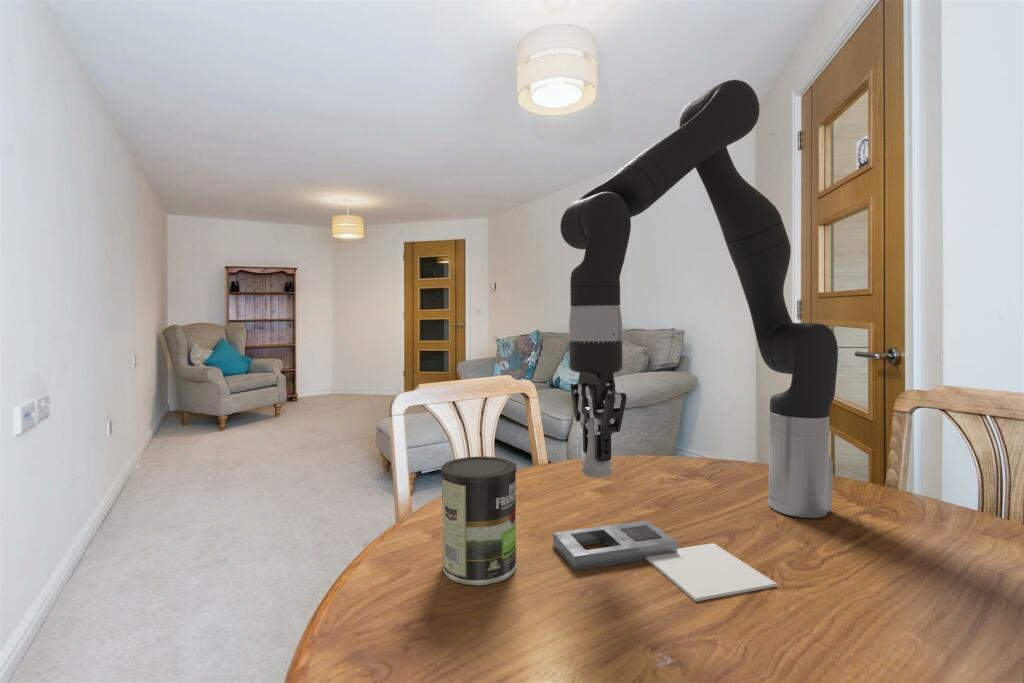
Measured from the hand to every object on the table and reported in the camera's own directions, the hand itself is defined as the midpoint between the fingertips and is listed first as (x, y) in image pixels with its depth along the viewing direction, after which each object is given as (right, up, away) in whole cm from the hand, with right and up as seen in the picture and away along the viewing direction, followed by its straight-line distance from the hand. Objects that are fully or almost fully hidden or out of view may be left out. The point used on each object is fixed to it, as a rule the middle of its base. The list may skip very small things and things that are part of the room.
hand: (596, 456), depth 72 cm
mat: (+14, -14, -5) cm, 21 cm away
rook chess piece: (0, -3, 0) cm, 3 cm away
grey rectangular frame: (+3, -14, +1) cm, 15 cm away
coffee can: (-17, -15, -3) cm, 23 cm away
